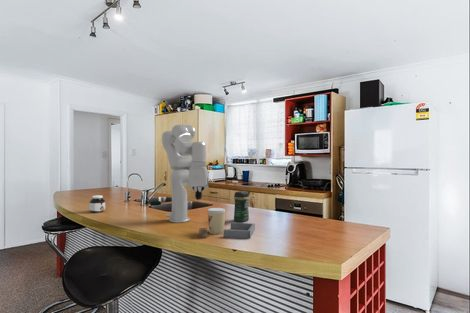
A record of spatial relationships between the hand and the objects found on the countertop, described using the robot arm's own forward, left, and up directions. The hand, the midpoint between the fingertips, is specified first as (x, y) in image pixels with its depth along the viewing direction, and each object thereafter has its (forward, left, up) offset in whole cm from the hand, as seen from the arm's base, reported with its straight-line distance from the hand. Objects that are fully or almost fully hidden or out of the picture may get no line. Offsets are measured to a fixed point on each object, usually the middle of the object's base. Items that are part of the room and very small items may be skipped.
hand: (198, 199), depth 147 cm
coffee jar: (+18, +29, -17) cm, 38 cm away
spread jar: (-91, +36, -17) cm, 99 cm away
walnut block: (+6, -10, -17) cm, 21 cm away
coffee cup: (+10, 0, -17) cm, 20 cm away
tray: (+22, 0, -17) cm, 28 cm away
